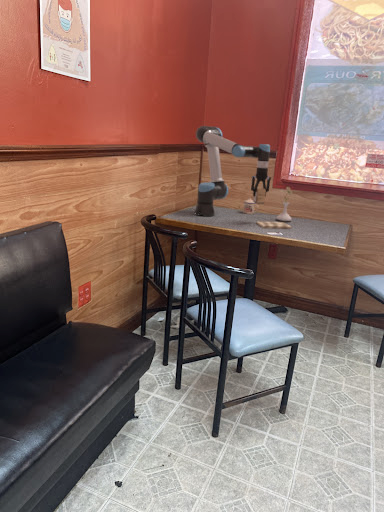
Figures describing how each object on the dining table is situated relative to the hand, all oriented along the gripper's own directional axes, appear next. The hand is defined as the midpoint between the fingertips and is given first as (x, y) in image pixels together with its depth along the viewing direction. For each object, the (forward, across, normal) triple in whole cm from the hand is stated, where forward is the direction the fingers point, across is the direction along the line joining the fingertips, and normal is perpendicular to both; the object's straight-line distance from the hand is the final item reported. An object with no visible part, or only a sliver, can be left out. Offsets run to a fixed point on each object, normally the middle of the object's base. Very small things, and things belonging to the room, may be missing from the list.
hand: (258, 201), depth 279 cm
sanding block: (+1, 0, 0) cm, 1 cm away
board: (+15, +8, -12) cm, 21 cm away
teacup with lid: (+15, +7, +34) cm, 38 cm away
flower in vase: (+15, +24, +9) cm, 30 cm away
